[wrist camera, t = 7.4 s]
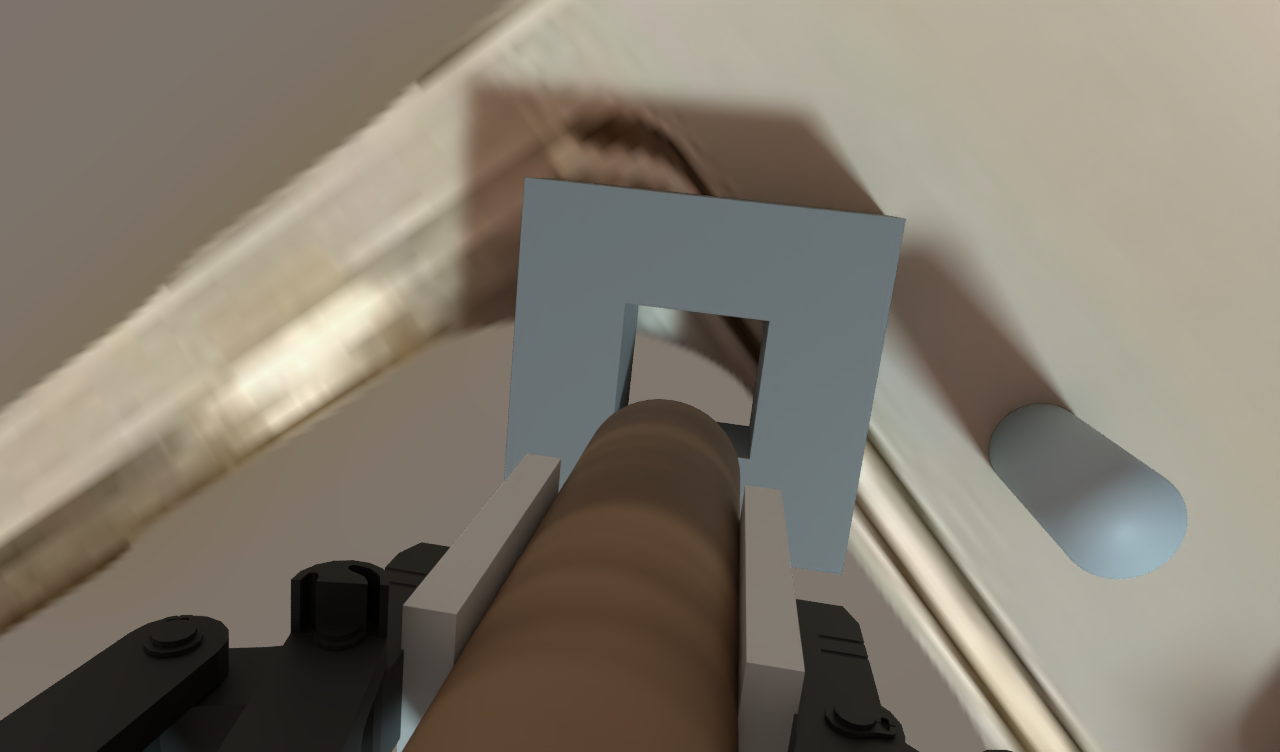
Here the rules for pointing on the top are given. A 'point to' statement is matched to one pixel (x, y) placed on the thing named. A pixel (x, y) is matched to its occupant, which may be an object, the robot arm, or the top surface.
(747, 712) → the robot arm
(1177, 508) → the short pin
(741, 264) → the hole block
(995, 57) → the top surface
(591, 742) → the long pin
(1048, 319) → the top surface
